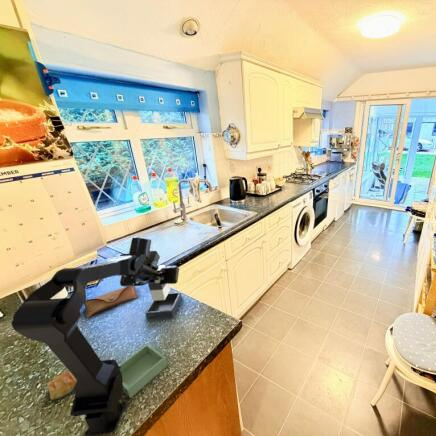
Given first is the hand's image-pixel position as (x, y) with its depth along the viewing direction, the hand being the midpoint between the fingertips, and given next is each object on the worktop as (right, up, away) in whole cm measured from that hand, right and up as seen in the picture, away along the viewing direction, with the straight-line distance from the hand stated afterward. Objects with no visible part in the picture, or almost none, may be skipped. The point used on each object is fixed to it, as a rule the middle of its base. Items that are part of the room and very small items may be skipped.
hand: (160, 279), depth 92 cm
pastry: (-13, -24, -24) cm, 37 cm away
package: (0, -6, +1) cm, 7 cm away
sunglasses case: (-24, -12, +7) cm, 28 cm away
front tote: (+6, -23, -21) cm, 31 cm away
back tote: (0, -13, +4) cm, 14 cm away
